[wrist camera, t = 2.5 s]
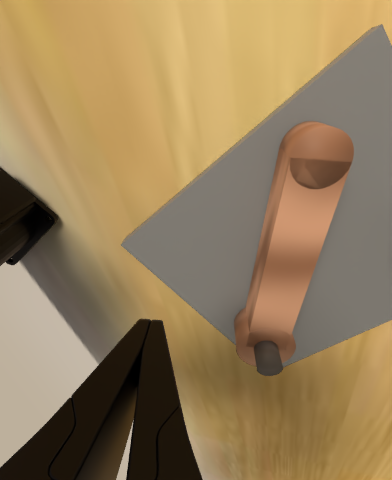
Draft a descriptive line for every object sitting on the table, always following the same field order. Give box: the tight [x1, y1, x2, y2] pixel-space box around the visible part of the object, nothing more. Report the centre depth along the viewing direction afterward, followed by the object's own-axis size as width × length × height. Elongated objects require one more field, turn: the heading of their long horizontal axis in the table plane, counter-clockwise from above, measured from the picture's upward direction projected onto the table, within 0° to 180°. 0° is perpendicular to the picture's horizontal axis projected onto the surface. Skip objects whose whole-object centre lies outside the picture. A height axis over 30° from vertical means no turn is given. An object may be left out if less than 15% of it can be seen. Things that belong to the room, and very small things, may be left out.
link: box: [234, 121, 354, 376], centre depth 17 cm, size 18×4×4 cm, turn 176°
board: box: [121, 24, 392, 367], centre depth 20 cm, size 19×19×1 cm
